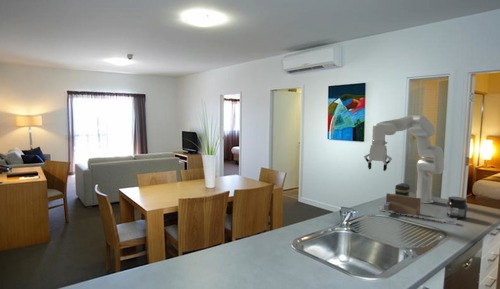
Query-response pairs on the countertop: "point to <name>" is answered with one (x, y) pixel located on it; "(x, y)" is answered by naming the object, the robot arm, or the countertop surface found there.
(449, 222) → the grey rail
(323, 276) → the countertop surface
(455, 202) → the supplement container
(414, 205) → the walnut screen
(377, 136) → the robot arm
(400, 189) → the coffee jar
